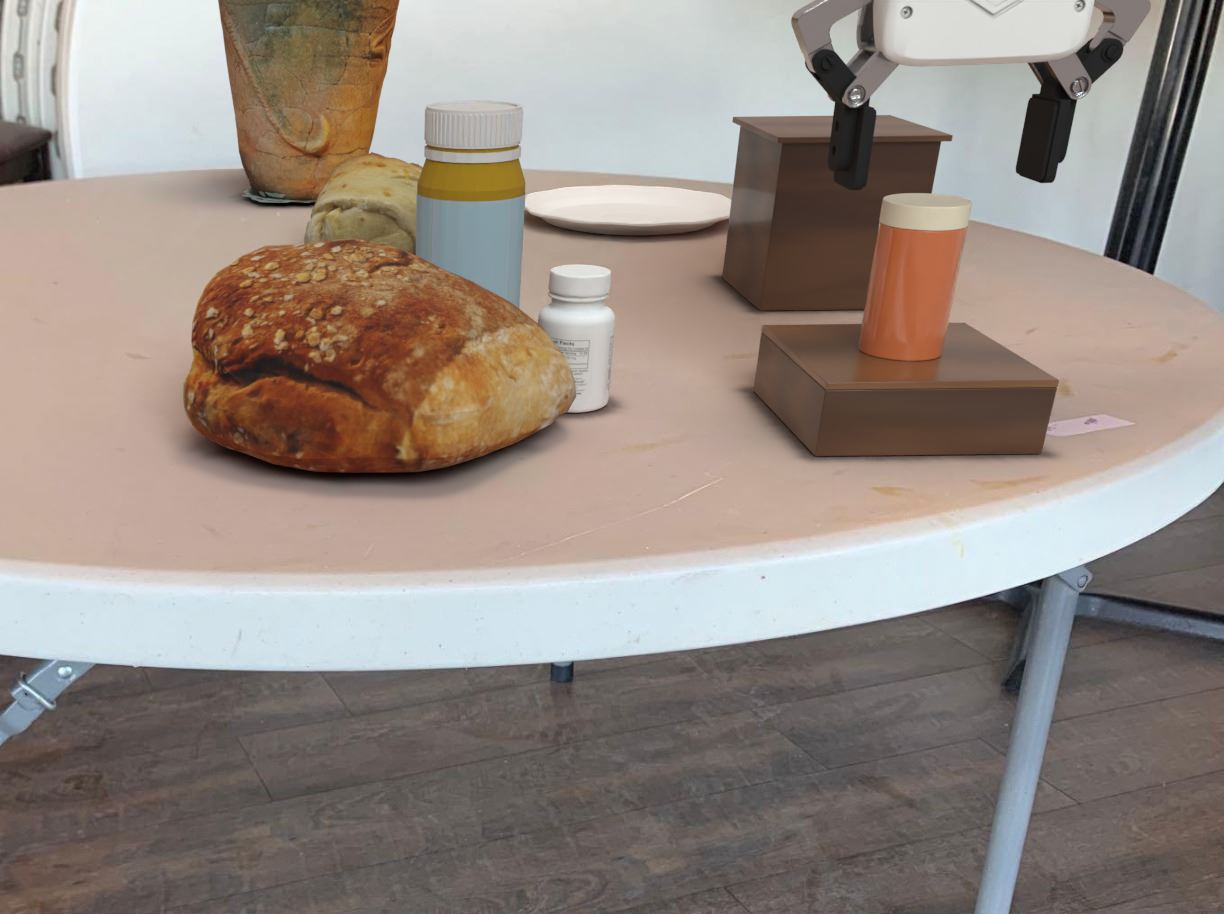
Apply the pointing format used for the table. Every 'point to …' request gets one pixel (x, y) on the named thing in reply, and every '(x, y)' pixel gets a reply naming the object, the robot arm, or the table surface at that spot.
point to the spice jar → (913, 275)
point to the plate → (628, 209)
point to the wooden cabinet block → (815, 209)
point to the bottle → (473, 193)
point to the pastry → (368, 203)
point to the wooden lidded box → (902, 394)
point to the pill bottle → (582, 329)
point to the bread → (366, 362)
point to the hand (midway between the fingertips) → (941, 182)
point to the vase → (304, 87)
